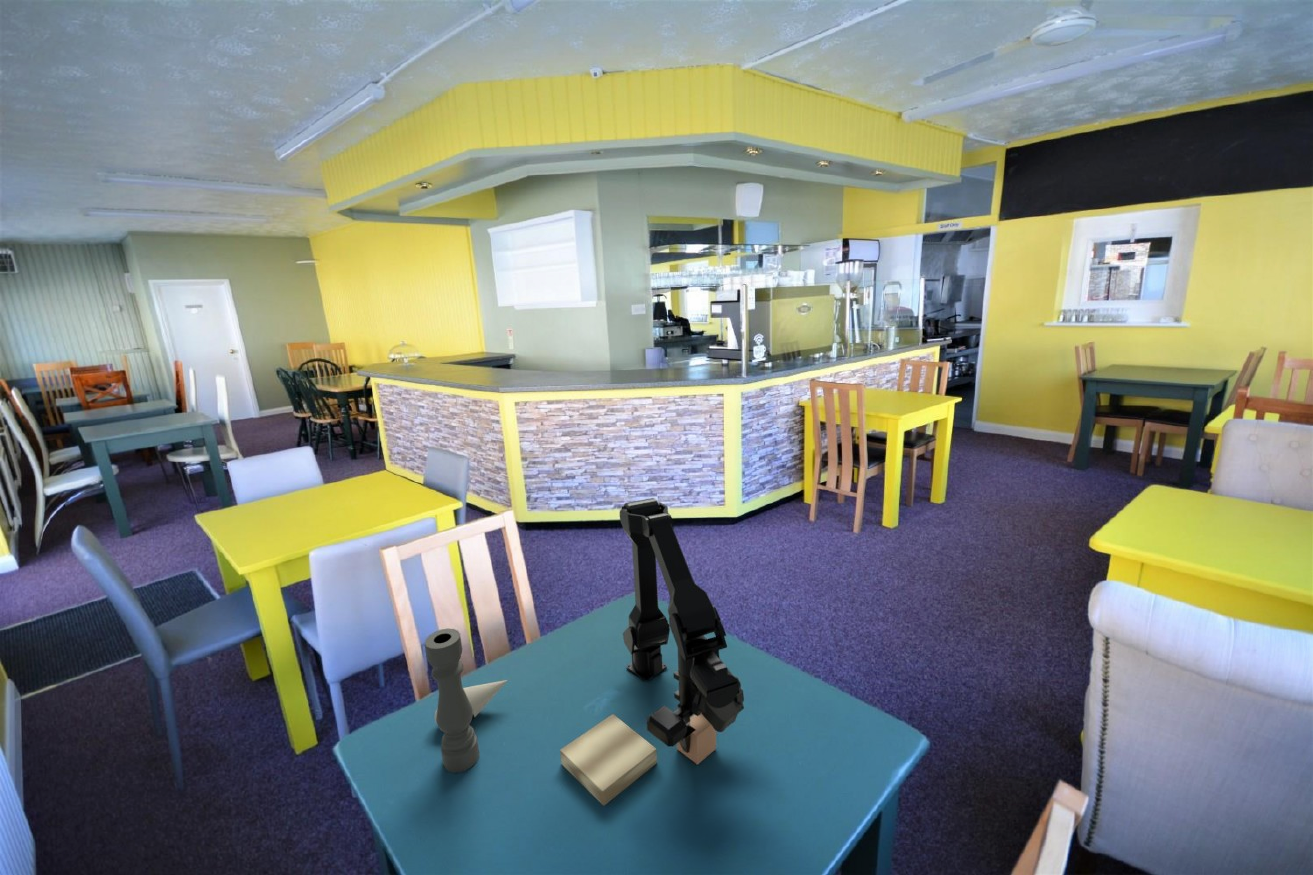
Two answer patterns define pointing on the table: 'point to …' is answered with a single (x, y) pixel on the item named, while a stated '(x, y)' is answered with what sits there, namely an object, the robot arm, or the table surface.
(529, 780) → the table surface
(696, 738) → the terracotta block
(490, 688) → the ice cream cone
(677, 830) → the table surface
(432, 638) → the candle holder
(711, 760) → the table surface
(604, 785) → the birch base
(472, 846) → the table surface
